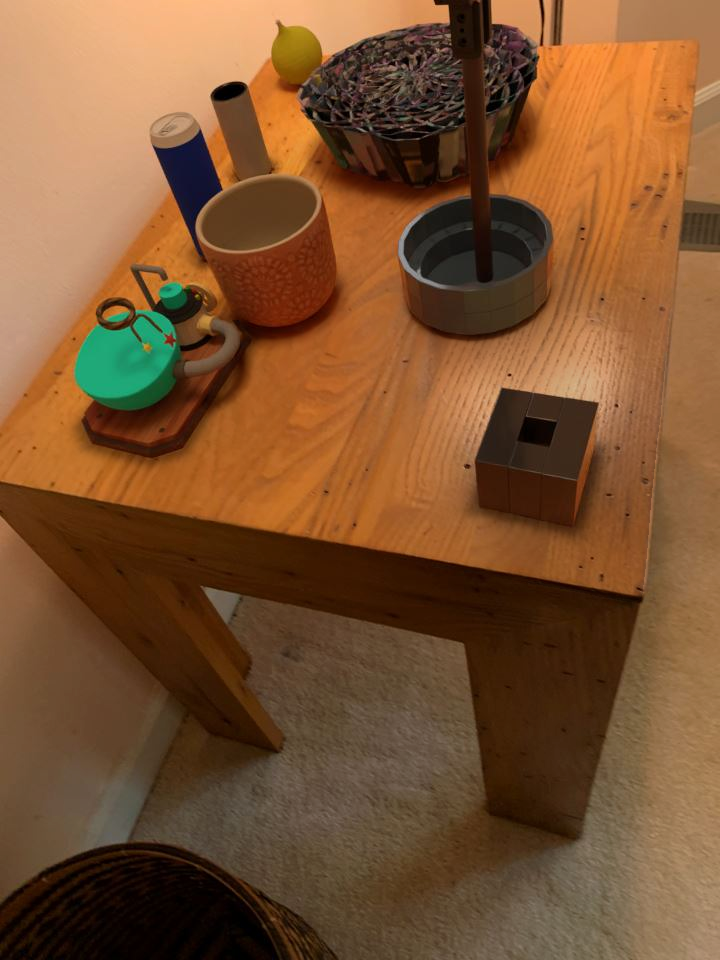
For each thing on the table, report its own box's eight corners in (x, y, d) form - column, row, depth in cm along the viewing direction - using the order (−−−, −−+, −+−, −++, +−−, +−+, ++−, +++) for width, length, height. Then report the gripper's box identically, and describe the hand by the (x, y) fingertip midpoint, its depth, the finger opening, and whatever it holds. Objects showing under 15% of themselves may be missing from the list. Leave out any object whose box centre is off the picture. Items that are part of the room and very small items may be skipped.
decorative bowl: (500, 228, 82) (504, 144, 73) (276, 194, 90) (258, 115, 82) (555, 103, 94) (564, 19, 86) (355, 83, 102) (346, 4, 94)
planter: (286, 360, 73) (253, 270, 64) (207, 315, 79) (168, 228, 70) (370, 287, 77) (350, 193, 68) (289, 250, 83) (261, 160, 75)
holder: (593, 451, 60) (598, 402, 55) (573, 526, 56) (577, 480, 52) (503, 435, 63) (501, 386, 58) (478, 506, 59) (474, 460, 54)
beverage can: (219, 230, 88) (171, 106, 76) (251, 241, 86) (206, 114, 74) (190, 257, 86) (136, 133, 74) (222, 268, 83) (171, 142, 72)
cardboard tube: (250, 186, 92) (223, 105, 84) (230, 175, 95) (202, 94, 87) (278, 168, 94) (255, 86, 85) (258, 157, 96) (233, 77, 88)
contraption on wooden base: (281, 330, 76) (234, 198, 64) (195, 468, 67) (122, 345, 55) (167, 312, 81) (104, 187, 69) (74, 438, 72) (-18, 320, 60)
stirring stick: (495, 273, 71) (482, -35, 51) (490, 284, 70) (475, -24, 50) (479, 271, 72) (459, -33, 51) (474, 282, 71) (452, -23, 50)
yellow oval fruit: (275, 97, 105) (254, 21, 97) (283, 72, 109) (263, -3, 101) (324, 90, 103) (307, 13, 96) (330, 65, 108) (314, -11, 100)
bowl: (565, 251, 75) (568, 198, 70) (530, 350, 68) (531, 299, 63) (431, 239, 80) (425, 189, 75) (386, 330, 73) (376, 281, 68)
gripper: (487, -255, 36) (498, 99, 50) (551, -325, 43) (545, 3, 57) (345, -233, 39) (393, 98, 52) (427, -302, 46) (451, 6, 59)
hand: (472, 47), depth 54 cm, fingers closed on stirring stick, 1 cm apart
